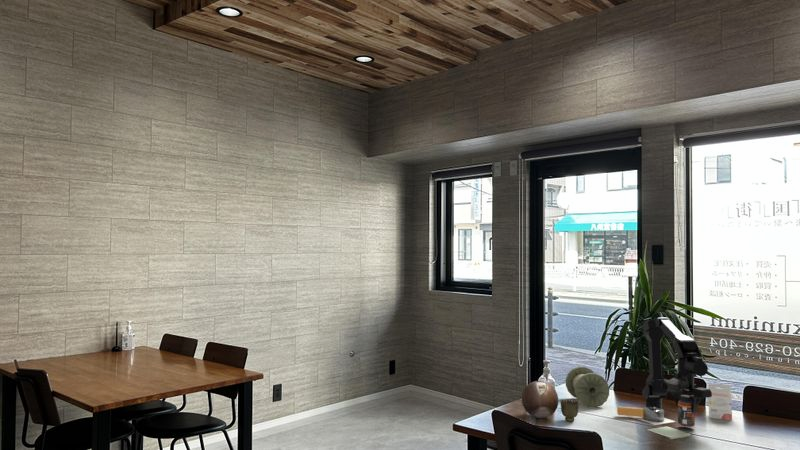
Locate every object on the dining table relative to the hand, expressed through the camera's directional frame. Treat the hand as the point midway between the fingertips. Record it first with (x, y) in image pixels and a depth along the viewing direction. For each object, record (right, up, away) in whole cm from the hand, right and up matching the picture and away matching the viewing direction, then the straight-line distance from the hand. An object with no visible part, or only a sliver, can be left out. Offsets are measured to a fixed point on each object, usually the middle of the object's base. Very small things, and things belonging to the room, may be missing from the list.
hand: (686, 410), depth 227 cm
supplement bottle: (0, -6, 0) cm, 6 cm away
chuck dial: (-13, -7, +13) cm, 19 cm away
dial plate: (-8, -8, +11) cm, 16 cm away
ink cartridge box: (+22, -9, +16) cm, 28 cm away
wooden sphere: (-54, -8, +14) cm, 57 cm away
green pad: (-10, -7, -6) cm, 13 cm away
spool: (-26, -9, +39) cm, 48 cm away
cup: (-43, -7, +9) cm, 45 cm away
